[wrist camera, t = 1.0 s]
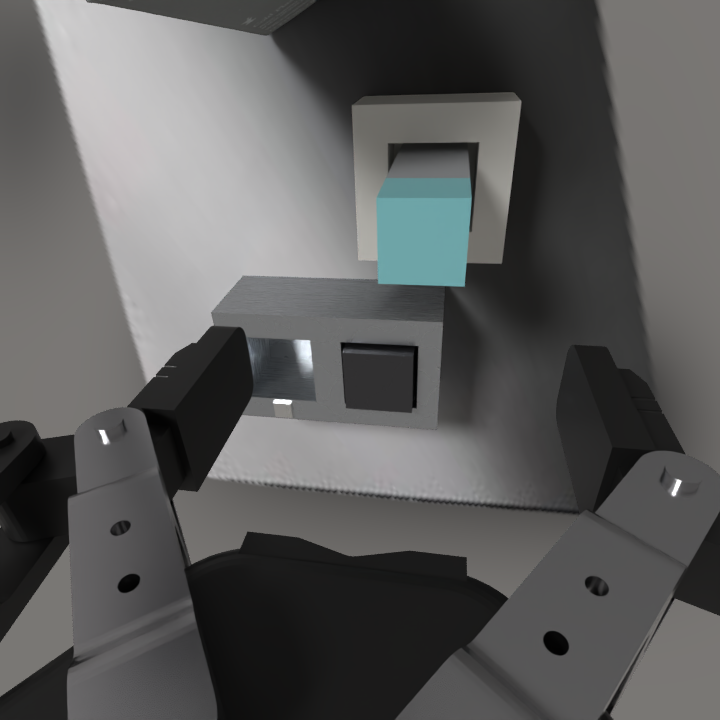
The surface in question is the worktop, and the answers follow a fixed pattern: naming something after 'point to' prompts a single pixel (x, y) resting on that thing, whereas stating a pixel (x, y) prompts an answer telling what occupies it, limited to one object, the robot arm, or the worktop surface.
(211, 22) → the skincare box
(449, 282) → the plug
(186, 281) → the worktop surface
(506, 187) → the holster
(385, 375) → the metal switch box
